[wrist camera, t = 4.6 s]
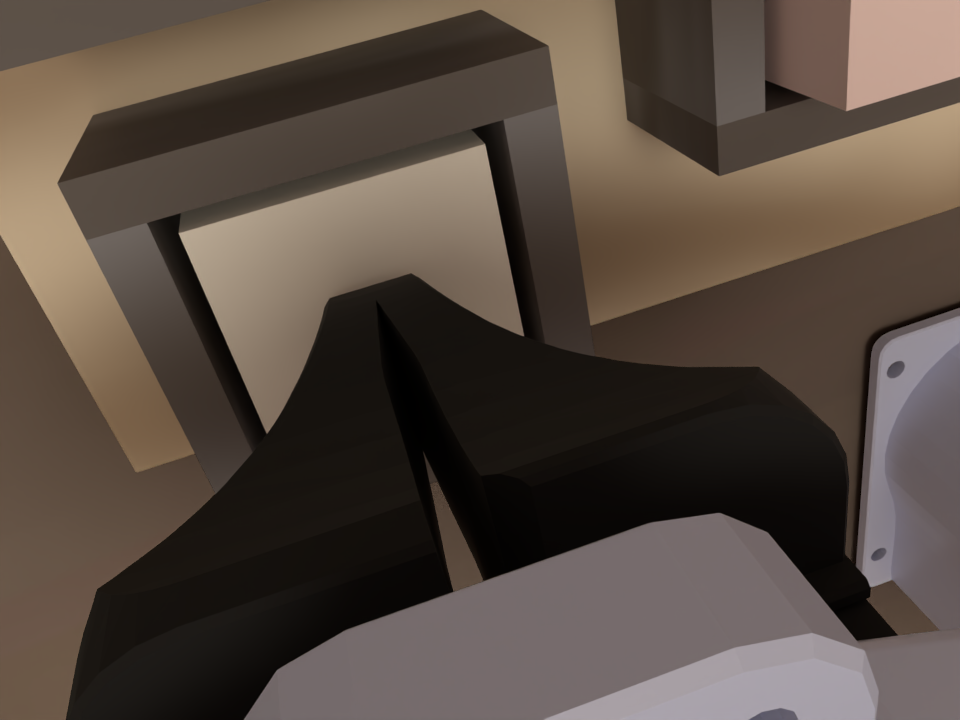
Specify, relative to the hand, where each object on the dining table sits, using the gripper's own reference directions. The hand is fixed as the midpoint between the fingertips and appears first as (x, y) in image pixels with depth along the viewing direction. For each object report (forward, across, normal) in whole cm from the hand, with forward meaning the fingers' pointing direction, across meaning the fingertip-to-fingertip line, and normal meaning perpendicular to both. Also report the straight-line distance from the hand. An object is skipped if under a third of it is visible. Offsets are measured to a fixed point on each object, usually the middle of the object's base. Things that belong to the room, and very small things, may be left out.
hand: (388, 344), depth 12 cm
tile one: (+4, 0, 0) cm, 4 cm away
